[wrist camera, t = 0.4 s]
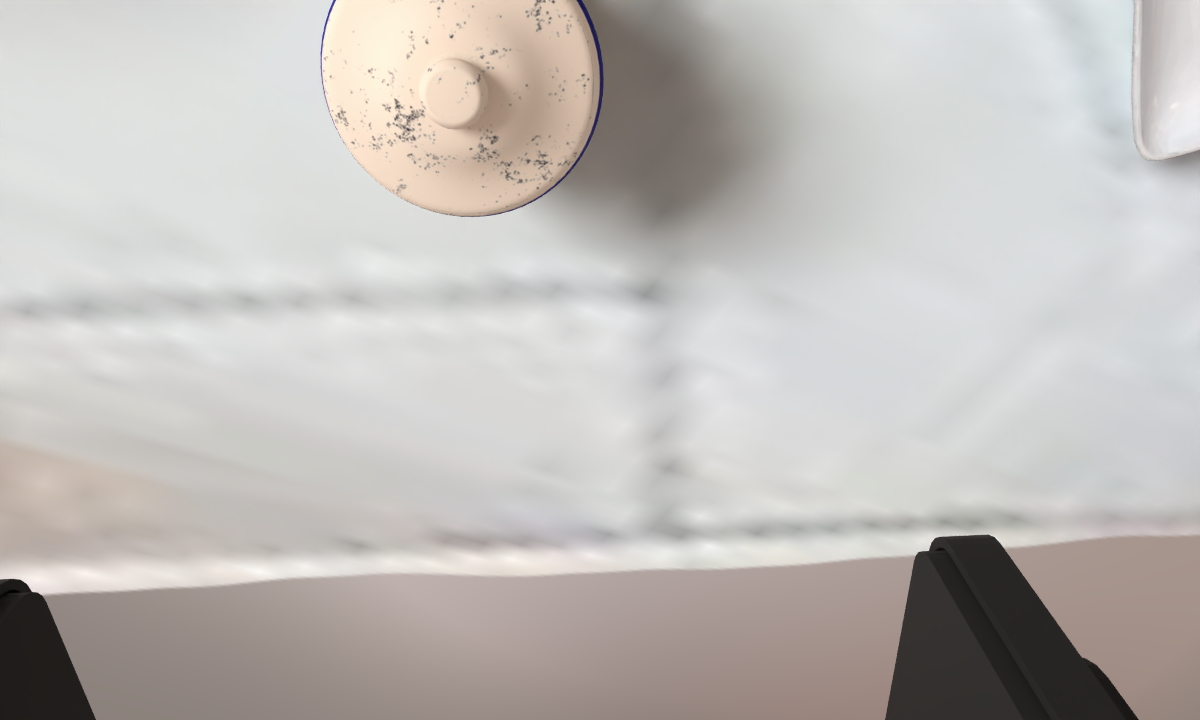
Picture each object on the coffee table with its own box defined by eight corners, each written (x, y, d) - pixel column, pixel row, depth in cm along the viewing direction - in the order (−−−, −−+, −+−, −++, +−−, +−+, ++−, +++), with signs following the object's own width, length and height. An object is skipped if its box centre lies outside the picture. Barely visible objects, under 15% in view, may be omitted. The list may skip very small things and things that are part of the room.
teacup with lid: (574, 177, 38) (577, 267, 27) (366, 139, 36) (287, 219, 26) (629, -129, 32) (659, -163, 22) (389, -183, 31) (301, -245, 21)
